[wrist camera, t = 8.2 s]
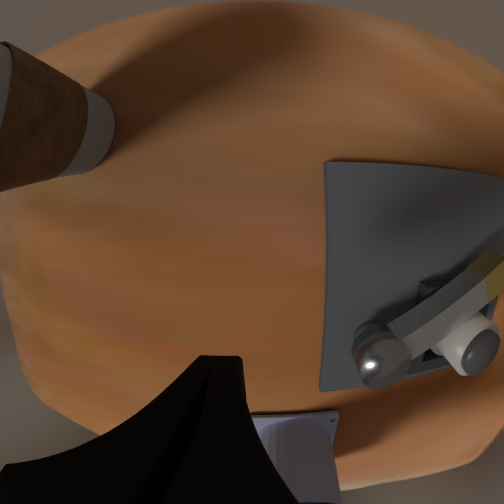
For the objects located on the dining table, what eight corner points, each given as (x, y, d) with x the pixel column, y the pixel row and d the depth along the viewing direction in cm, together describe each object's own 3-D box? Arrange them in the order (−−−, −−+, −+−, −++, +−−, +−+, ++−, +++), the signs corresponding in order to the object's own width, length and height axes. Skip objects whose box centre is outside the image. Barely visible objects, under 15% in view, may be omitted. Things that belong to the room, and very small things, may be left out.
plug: (461, 341, 17) (493, 374, 12) (416, 352, 17) (446, 393, 12) (474, 288, 16) (515, 315, 11) (429, 295, 16) (469, 329, 11)
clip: (359, 372, 16) (369, 396, 14) (343, 340, 15) (353, 364, 13) (493, 280, 14) (513, 292, 11) (486, 242, 13) (509, 251, 11)
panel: (475, 353, 18) (485, 364, 16) (318, 385, 19) (322, 402, 17) (503, 178, 14) (519, 179, 12) (323, 162, 15) (330, 160, 13)
